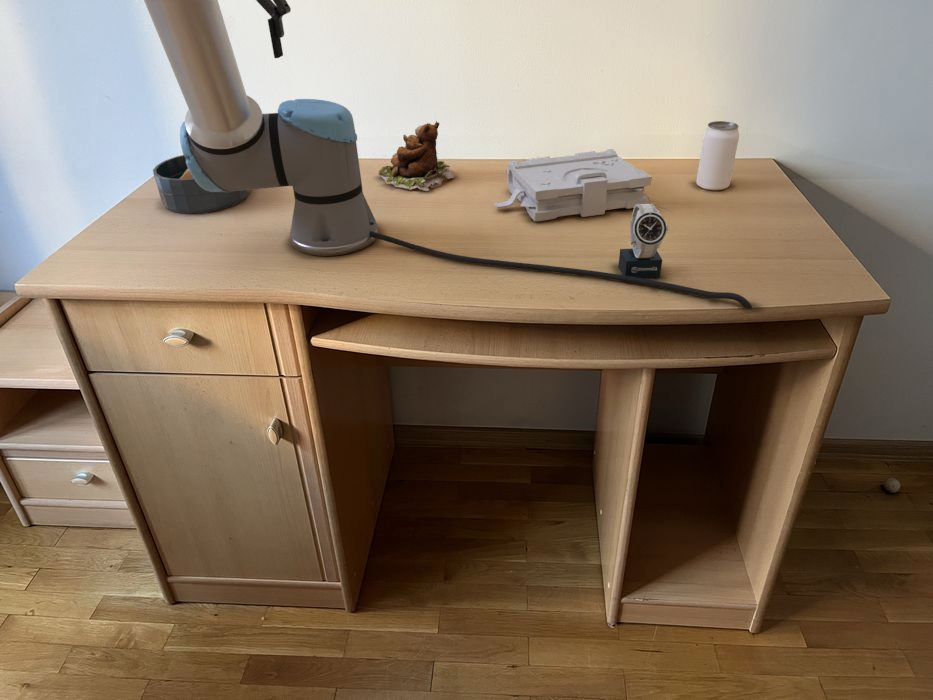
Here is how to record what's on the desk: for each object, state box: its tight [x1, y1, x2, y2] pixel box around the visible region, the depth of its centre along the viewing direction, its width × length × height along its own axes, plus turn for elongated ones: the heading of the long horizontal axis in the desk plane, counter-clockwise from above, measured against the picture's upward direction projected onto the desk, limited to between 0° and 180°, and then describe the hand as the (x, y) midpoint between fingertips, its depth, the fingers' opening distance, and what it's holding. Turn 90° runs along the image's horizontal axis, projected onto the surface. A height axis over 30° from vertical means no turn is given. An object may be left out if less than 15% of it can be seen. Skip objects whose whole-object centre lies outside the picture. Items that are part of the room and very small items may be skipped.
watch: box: [617, 203, 670, 279], centre depth 103 cm, size 6×8×11 cm
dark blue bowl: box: [152, 154, 251, 215], centre depth 137 cm, size 17×17×7 cm
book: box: [493, 148, 652, 222], centre depth 130 cm, size 19×28×8 cm
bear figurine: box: [377, 120, 455, 192], centre depth 141 cm, size 14×15×12 cm
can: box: [695, 120, 740, 192], centre depth 133 cm, size 6×6×12 cm
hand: (244, 57), depth 127 cm, fingers open, 13 cm apart
